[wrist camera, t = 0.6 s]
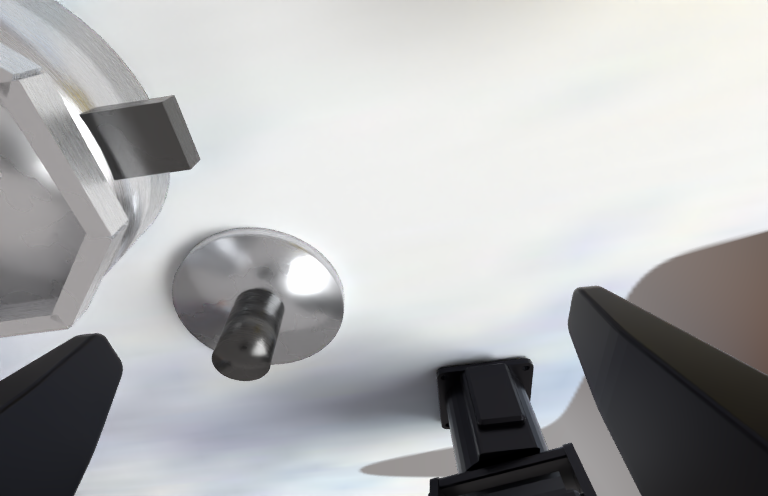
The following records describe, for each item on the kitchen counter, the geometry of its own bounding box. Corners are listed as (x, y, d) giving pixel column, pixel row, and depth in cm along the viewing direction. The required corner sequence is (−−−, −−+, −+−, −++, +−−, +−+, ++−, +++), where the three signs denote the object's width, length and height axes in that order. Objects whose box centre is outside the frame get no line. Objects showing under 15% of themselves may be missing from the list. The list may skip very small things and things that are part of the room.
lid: (357, 341, 26) (354, 410, 22) (215, 358, 27) (186, 429, 23) (326, 213, 21) (314, 272, 17) (151, 237, 22) (97, 300, 17)
